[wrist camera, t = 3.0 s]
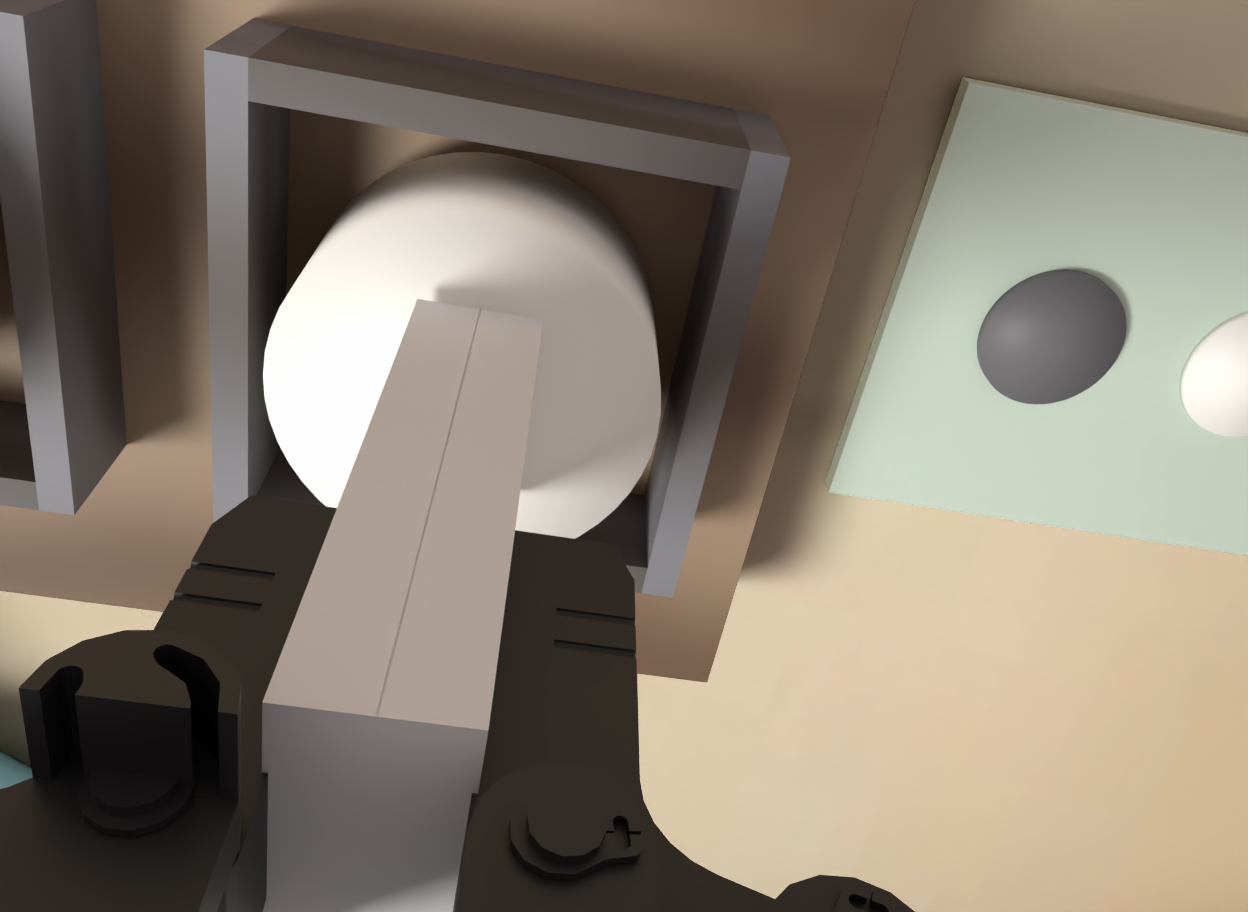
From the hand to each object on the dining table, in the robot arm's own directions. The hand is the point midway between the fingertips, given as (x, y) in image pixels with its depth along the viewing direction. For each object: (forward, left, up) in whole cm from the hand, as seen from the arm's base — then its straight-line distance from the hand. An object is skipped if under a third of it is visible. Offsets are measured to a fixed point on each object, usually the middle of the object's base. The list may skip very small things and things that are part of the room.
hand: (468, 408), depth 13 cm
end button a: (0, 0, -3) cm, 3 cm away
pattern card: (0, -14, -6) cm, 15 cm away
